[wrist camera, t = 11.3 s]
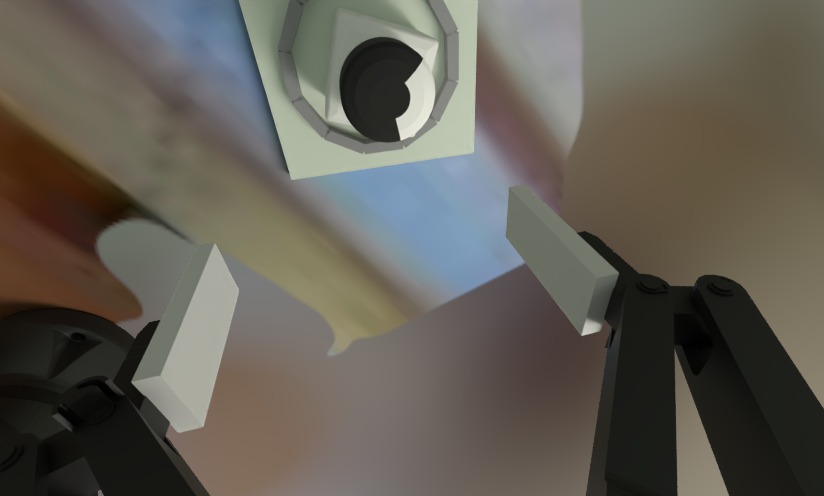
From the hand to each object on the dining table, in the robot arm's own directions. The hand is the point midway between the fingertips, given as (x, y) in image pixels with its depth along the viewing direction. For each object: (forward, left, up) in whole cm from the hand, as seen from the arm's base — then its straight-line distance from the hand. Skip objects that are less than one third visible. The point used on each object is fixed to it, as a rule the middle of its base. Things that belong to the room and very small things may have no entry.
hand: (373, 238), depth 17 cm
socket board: (+3, +4, -23) cm, 23 cm away
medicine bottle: (+3, +4, -22) cm, 22 cm away
